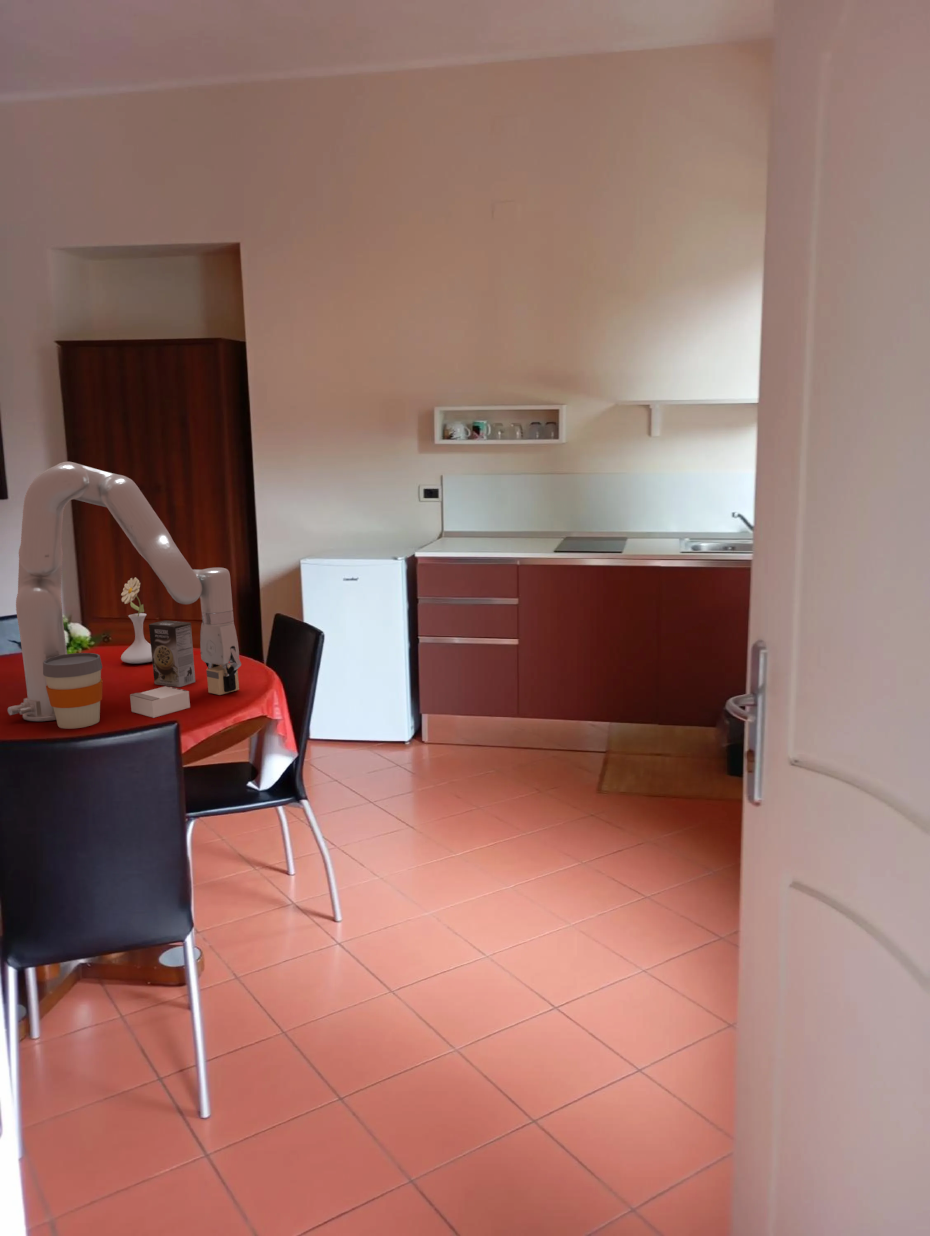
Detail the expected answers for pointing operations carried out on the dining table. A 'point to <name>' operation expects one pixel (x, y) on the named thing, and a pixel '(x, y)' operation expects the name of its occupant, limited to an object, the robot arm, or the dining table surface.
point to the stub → (218, 680)
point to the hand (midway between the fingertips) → (223, 688)
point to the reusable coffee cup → (74, 688)
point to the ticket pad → (160, 701)
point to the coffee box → (172, 653)
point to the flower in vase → (136, 627)
